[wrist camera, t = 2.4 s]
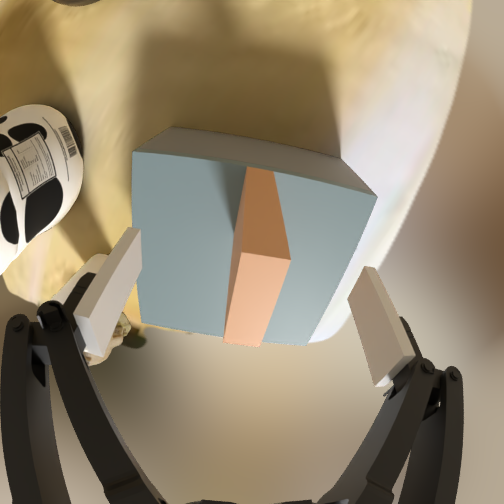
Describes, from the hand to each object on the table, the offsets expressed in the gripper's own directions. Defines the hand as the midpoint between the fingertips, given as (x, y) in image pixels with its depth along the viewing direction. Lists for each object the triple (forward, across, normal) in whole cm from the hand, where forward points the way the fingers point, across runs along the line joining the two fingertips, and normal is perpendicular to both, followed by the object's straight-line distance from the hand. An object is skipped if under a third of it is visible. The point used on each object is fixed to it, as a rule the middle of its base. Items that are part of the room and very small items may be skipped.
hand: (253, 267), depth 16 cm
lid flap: (+9, 0, -7) cm, 11 cm away
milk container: (+19, -29, -2) cm, 35 cm away
